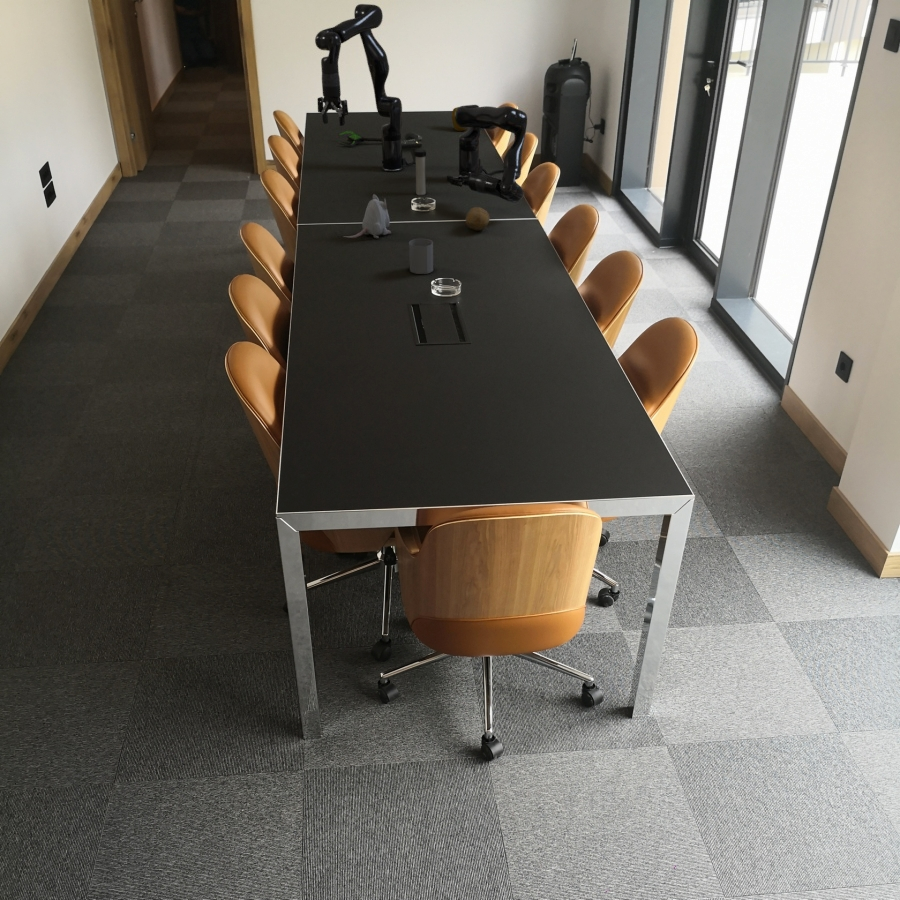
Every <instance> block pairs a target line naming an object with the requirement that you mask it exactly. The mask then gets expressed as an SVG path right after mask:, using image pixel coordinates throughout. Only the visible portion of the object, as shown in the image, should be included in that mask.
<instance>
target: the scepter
mask: <svg viewBox="0 0 900 900" xmlns="http://www.w3.org/2000/svg"><path fill="white" fill-rule="evenodd" d="M345 134H349V135H347V136H346V138H347V140H346V142H348V143H351V144H346V143H343V142H340V141H338V142H337V143H338V144H340V145H342V146H343V147H349V148H351V147H352V148H353V147H354V146H355V145H358V144H361V143H363V142H380V143H382V137H380V138H377V137H364V136H362V135H360V134H358V133H356V132H355V131H352V130H346V131H343V132H341V133H339V134H338V136H341V135H345Z"/></svg>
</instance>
